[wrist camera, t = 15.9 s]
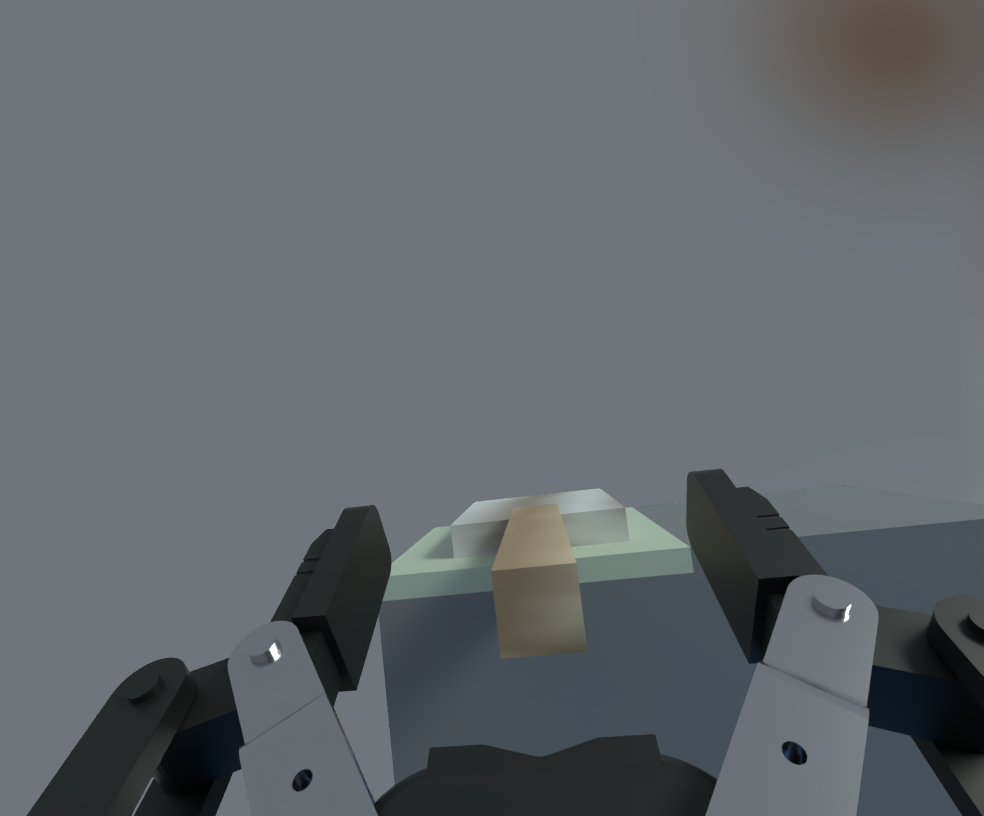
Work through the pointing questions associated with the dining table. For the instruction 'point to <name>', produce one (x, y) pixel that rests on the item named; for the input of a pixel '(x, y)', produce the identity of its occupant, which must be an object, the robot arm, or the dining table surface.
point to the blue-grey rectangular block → (658, 638)
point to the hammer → (538, 563)
